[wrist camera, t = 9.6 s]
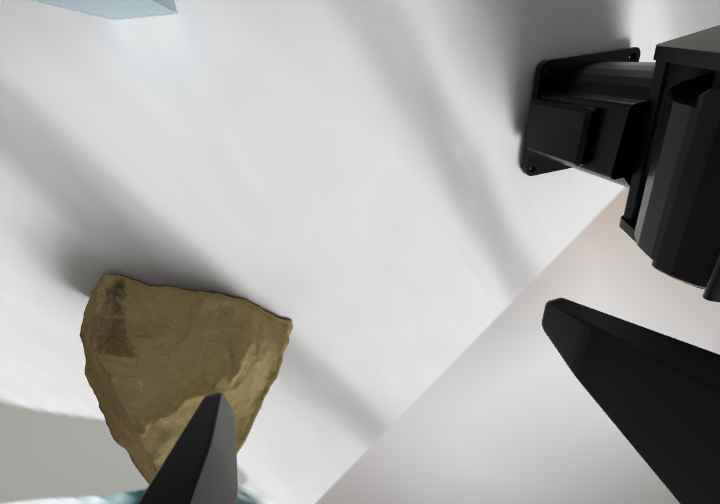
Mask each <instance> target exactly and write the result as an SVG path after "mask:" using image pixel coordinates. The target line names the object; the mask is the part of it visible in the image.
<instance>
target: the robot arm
mask: <svg viewBox="0 0 720 504" xmlns="http://www.w3.org/2000/svg"><path fill="white" fill-rule="evenodd" d="M629 57H630V58H629ZM639 58H640V49H639V48H637V47H628V48H622V49H615V50H608V51H601V52H594V53H588V54H581V55H574V56H567V57H560V58H554V59H547V60H543V61H541V62H540V63H539V64H538V66H537V68H536V72H535V80H534V87H533V94H532V101H531V108H530V115H529V123H528V130H527V137H526V144H525V151H524V158H523V165H522V171H523V173H525V174H527V175H529V176H534V175H539V174H544V173H548V172H553V171H558V170H563V169H568V168H572V167H573V168H576V169H579V170H581V171H584V172H587V173H590V174H593V175H595V176H598V177H601V178H604V179H607V180H609V181H612V182H615V183H618V184H621V185H623V186H626V187H629V193H628V197H627V202H626V207H625V211H624V215H623V216H622V217H621V220H620V225H619V226H620V227H621V228H622V229H623V230H624V231H625V232H626V233H627V234H628V235H629V236H630V237H631V238H632V239H633V240H634V241H635V242H636V243H637V245H638V246H639V247H640V248H641V249H642V250H643V251H644V252H645V253H646V254H647V255H648V256H649V257H650V258H651V259H653V260H652V266H653V267H654V268H656V269H657V270H659V271H661V272H662V273H664V274H666V275H668V276H670V277H672V278H674V279H677V280H679V281H682V282H684V283H687V284H689V285H692V286H695V287H697V288H701V289H705V291H704V294H703V298H705V299H706V300H709V301H714V302H720V25H719V26H715V27H712V28H709V29H706V30H702V31H699V32H696V33H693V34H689V35H686V36H683V37H680V38H676V39H673V40H670V41H667V42H663V43H660V44H657V45H656V49H655V54H654V60H656V62H639ZM546 67H548V70H547V72H546V73H545V68H546ZM532 165H533V166H532ZM531 166H532V168H531V169H530V167H531ZM542 327H543V329H544V331H545V333H546V334H547V336H548V337H549V339H550V340H551V341H552V343H553V344H554V346H555V347H556V348H557V350H558V352H559V353H560V355H561V356H562V358H563V359H564V361H565V362H566V363H567V365H568V366H569V368H570V369H571V371H572V372H573V373H574V375H575V376H576V378H577V379H578V380H579V381H580V383H581V384H582V385H583V386H584V387H585V389H586V390H587V391H588V392H589V394H590V395H591V396H592V397H593V398H594V400H595V401H596V402H597V403H598V405H599V406H600V407H601V408H602V409H603V411H604V412H605V413H606V414H607V415H608V417H609V418H610V419H611V420H612V421H613V423H614V424H615V425H616V426H617V427H618V429H619V430H620V431H621V432H622V434H623V435H624V436H625V437H626V438H627V440H628V441H629V442H630V443H631V444H632V446H633V447H634V448H635V449H636V450H637V452H638V453H639V454H640V455H641V457H642V458H643V459H644V460H645V461H646V463H647V464H648V465H649V466H650V467H651V469H652V470H653V471H654V472H655V474H656V475H657V476H658V477H659V478H660V480H661V481H662V482H663V483H664V484H665V486H666V487H667V488H668V489H669V490H670V492H671V493H672V494H673V495H674V496H675V498H676V499H677V500H678V501H679V503H680V504H720V355H719V354H716V353H713V352H710V351H708V350H705V349H702V348H699V347H697V346H694V345H691V344H688V343H686V342H683V341H680V340H677V339H675V338H672V337H669V336H666V335H663V334H661V333H658V332H655V331H652V330H650V329H647V328H644V327H641V326H638V325H636V324H633V323H630V322H628V321H625V320H622V319H619V318H617V317H614V316H611V315H608V314H606V313H603V312H600V311H597V310H594V309H591V308H589V307H586V306H583V305H581V304H578V303H575V302H573V301H569V300H567V299H564V298H557V299H554V300H550V301H548V302H547V303H546V306H545V310H544V314H543V319H542ZM237 486H238V483H237V458H236V435H235V418H234V413H233V411H232V409H231V406H230V404H229V402H228V400H227V398H226V396H225V394H224V393H223V392H218V393H214V394H210V395H207V396H205V397H204V398H203V400H202V401H201V403H200V404H199V406H198V408H197V409H196V411H195V412H194V414H193V416H192V417H191V419H190V420H189V422H188V424H187V425H186V427H185V428H184V430H183V432H182V433H181V435H180V437H179V438H178V440H177V441H176V443H175V445H174V446H173V448H172V449H171V451H170V453H169V454H168V456H167V457H166V459H165V461H164V462H163V464H162V465H161V467H160V469H159V470H158V472H157V473H156V475H155V477H154V478H153V480H152V481H151V483H150V485H149V486H148V488H147V489H146V491H145V493H144V494H143V496H142V497H141V499H140V501H139V502H138V504H237Z"/></svg>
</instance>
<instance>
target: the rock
mask: <svg viewBox="0 0 720 504" xmlns="http://www.w3.org/2000/svg"><path fill="white" fill-rule="evenodd" d="M292 329H293V324H292V321H291V320H289V319H285V320H284V319H280V318H278V317H276V316H274V315H272V314H270V313H268V312H266V311H264V310H263V309H262V308H260V307H259V306H256V305H254V304H252V303H249V301H248V300H246V299H237V298H233V297H229V296H226V295H223V294H220V293H209V292H205V291H197V292H194V291H190V290H183V289H181V288H179V287H169V286H161V287H156V286H148V285H146V284H143V283H141V282H138V281H135V280H130V279H128V278H126V277H123V276H120V275H110V274H104V275H103V276H102V277H101V279H100V281H99V282H98V284H97V286H96V287H95V289H94V290H93V292H92V294H91V296H90V299H89V301H88V304H87V306H86V309H85V311H84V318H83V322H82V326H81V332H80V337H81V340H82V343H83V346H84V352H85V357H86V365H85V375H86V378H87V380H88V382H89V385H90V386H91V388H92V389H93V391H94V394H95V395H96V397H97V399H98V402H99V408H100V410H101V412H102V413H103V414H104V417H105V420H106V424H107V425H108V427H109V429H110V432H111V435H112V437H113V439H114V440H115V441H116V442H117V443H118V444H119V445H120V446H122V447H123V448H125V449H126V450H127V451H128V453H129V455H130V457H131V460H132V462H133V463H134V465H135V466H136V468H137V469H138V470H139V472H140V473H141V474H142V476H143V477H144V478H145V479H146V481H147V482H148V483H149V485H150V483H151V481H152V480H153V478H154V477H155V475H156V473H157V472H158V470H159V469H160V467H161V465H162V464H163V462H164V461H165V459H166V457H167V456H168V454H169V453H170V451H171V449H172V448H173V446H174V445H175V443H176V441H177V440H178V438H179V437H180V435H181V433H182V432H183V430H184V428H185V427H186V425H187V424H188V422H189V420H190V419H191V417H192V416H193V414H194V412H195V411H196V409H197V408H198V406H199V404H200V403H201V401H202V400H203V398H204V397H205V396H207V395H210V394H214V393H218V392H223V393H224V394H225V396H226V398H227V400H228V402H229V404H230V406H231V409H232V411H233V413H234V418H235V435H236V455H237V453H238V451H239V450H240V449H241V447H242V446H243V444H244V442H245V441H246V438H247V436H248V434H249V432H250V430H251V428H252V425H253V423H254V420H255V418H256V416H257V414H258V412H259V410H260V409H261V407H262V403H263V400H264V398H265V396H266V394H267V393H268V391H269V388H270V386H271V385H272V384H273V382H274V381H275V380H276V378H277V376H278V373H279V369H280V366H281V364H282V360H283V355H284V351H285V349H286V347H287V345H288V344H289V335H290V332H291V331H292Z"/></svg>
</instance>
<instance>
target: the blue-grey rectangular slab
mask: <svg viewBox="0 0 720 504" xmlns="http://www.w3.org/2000/svg"><path fill="white" fill-rule="evenodd" d="M32 1H36V2H40V3H44V4H48V5H53V6H57V7H61V8H65V9H69V10H73V11H78V12H82V13H86V14H90V15H94V16H99V17H103V18H107V19H111V20H117V19H127V18H138V17H148V16H158V15H168V14H178V12H177V9H176V6H175V3H174V0H32Z"/></svg>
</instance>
